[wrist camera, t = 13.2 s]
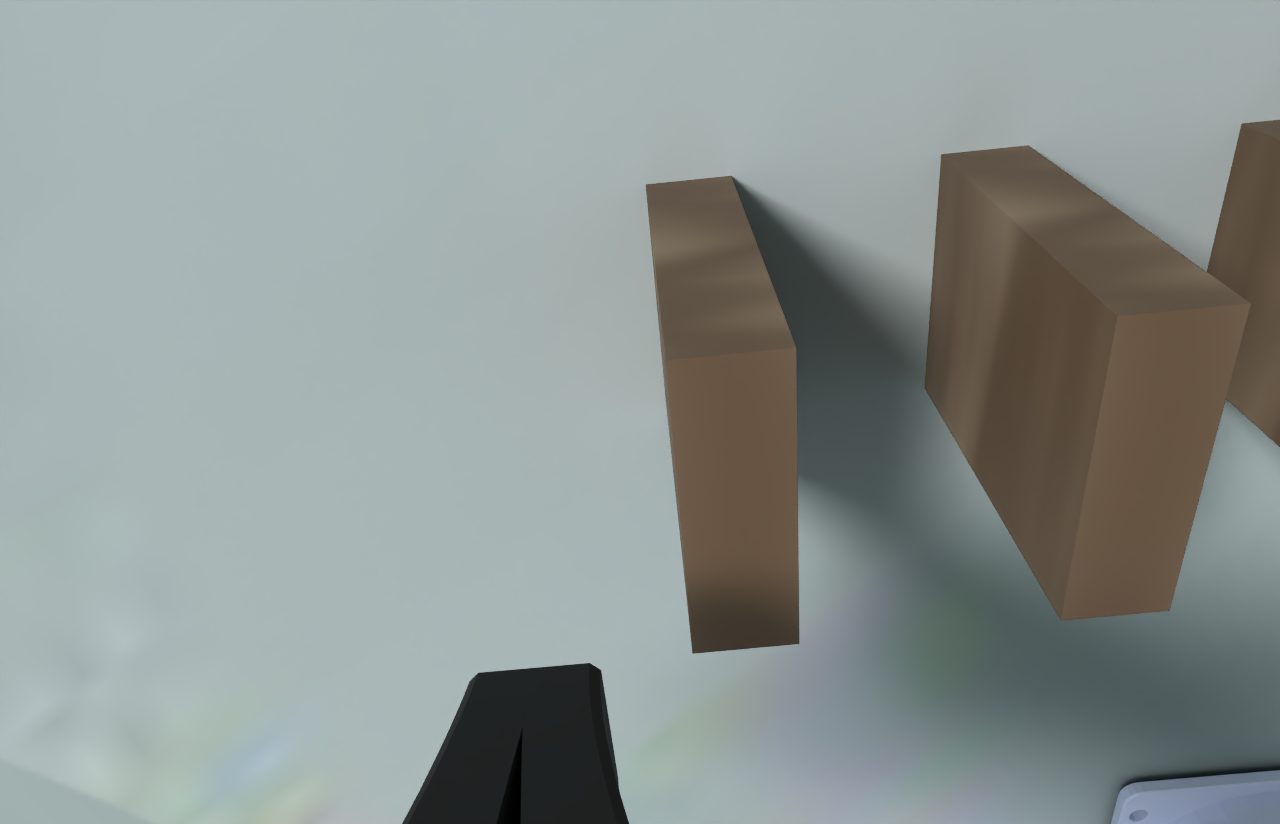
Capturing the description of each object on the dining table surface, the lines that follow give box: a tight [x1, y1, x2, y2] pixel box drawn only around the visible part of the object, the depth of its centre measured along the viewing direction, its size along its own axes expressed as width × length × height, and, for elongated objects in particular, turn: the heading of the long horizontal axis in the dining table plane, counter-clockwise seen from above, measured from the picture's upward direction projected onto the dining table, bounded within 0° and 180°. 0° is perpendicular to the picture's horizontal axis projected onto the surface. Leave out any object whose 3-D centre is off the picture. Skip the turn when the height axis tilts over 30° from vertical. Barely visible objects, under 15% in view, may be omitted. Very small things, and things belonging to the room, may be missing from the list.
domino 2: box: [925, 146, 1251, 620], centre depth 16 cm, size 2×5×7 cm, turn 5°
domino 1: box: [646, 176, 799, 653], centre depth 16 cm, size 2×5×7 cm, turn 5°
